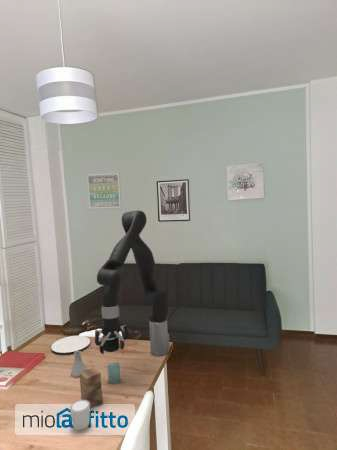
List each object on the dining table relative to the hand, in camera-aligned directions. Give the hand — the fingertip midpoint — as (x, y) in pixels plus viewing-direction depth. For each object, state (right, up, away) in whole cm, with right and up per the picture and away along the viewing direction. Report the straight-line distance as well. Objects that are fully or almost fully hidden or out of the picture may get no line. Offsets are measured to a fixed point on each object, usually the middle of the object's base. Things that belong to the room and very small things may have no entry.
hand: (112, 351), depth 136 cm
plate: (-29, -13, +36) cm, 48 cm away
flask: (-17, -14, +8) cm, 23 cm away
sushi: (-6, -12, +32) cm, 34 cm away
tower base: (-6, -15, -13) cm, 21 cm away
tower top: (-6, -9, -14) cm, 17 cm away
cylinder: (+1, -13, +1) cm, 13 cm away
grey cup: (-6, -16, -26) cm, 31 cm away
